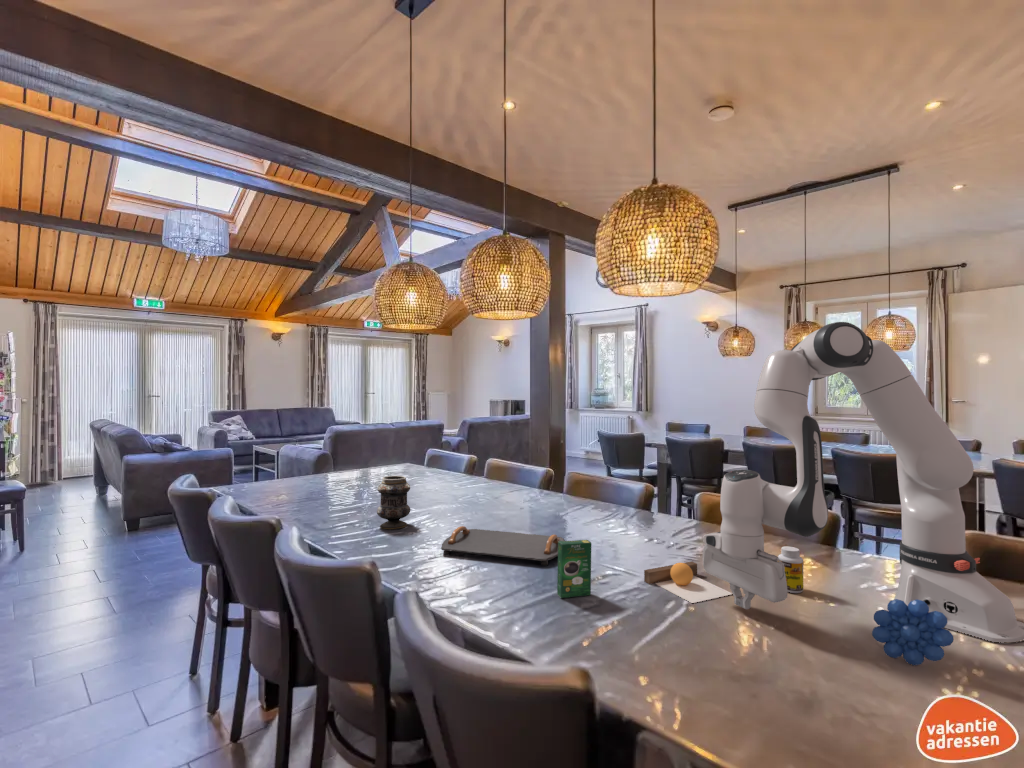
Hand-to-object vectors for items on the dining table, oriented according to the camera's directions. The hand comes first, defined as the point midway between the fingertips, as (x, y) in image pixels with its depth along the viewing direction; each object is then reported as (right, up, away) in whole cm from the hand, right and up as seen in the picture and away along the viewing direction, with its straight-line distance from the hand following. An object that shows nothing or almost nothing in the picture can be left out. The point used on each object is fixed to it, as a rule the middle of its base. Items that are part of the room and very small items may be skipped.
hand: (742, 606), depth 111 cm
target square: (-6, -2, +14) cm, 15 cm away
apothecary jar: (-95, -3, +73) cm, 120 cm away
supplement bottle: (+18, -2, +13) cm, 23 cm away
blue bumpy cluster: (+22, -2, -20) cm, 30 cm away
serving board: (-54, -3, +45) cm, 70 cm away
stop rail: (-9, -2, +21) cm, 23 cm away
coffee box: (-36, -2, +10) cm, 38 cm away
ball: (-8, +1, +17) cm, 18 cm away
